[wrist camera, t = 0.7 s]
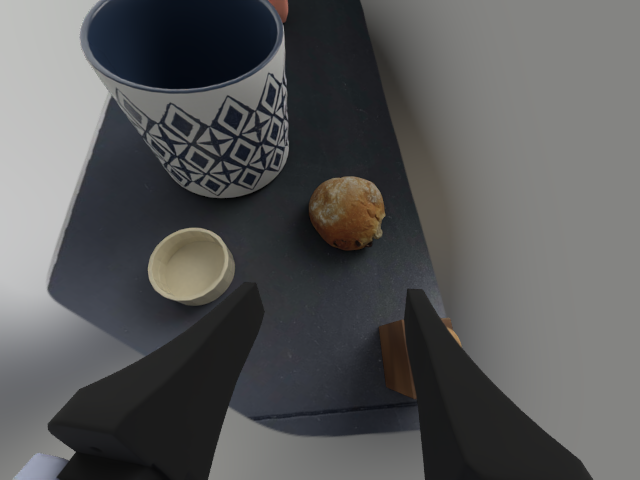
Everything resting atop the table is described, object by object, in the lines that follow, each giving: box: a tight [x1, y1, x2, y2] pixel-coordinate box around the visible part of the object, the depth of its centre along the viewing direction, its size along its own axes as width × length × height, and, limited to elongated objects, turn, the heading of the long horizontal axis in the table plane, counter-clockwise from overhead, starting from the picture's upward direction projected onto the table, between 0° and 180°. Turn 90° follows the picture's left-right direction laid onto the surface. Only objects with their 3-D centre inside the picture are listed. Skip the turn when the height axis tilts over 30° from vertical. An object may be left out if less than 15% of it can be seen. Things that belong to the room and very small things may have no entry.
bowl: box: [148, 228, 235, 306], centre depth 30 cm, size 8×8×4 cm
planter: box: [79, 0, 289, 198], centre depth 32 cm, size 18×18×16 cm
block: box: [379, 318, 453, 399], centre depth 27 cm, size 6×5×8 cm
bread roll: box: [309, 177, 385, 250], centre depth 34 cm, size 10×10×8 cm
